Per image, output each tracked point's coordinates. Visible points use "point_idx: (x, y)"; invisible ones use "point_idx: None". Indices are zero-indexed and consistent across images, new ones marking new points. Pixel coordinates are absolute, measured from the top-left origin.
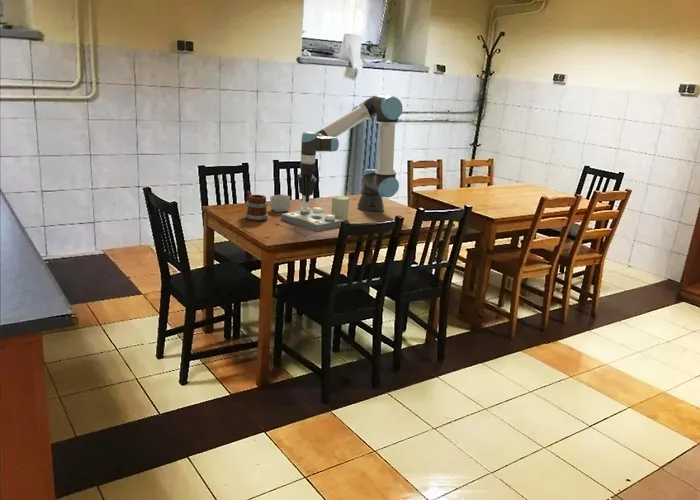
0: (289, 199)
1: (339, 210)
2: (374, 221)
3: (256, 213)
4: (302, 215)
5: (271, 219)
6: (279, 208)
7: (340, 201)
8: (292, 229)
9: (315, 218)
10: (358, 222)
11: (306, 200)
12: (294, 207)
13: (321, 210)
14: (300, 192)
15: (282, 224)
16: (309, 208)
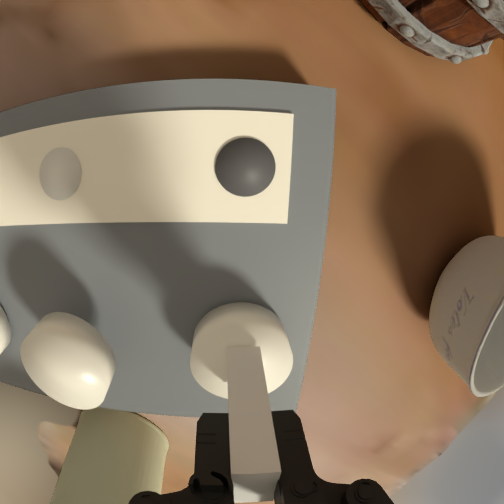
0: (464, 370)
1: (70, 454)
2: (55, 463)
3: None
4: (153, 234)
5: (362, 44)
6: (465, 254)
7: (54, 498)
8: (53, 7)
9: (29, 261)
10: (46, 431)
11: (211, 429)
12: (430, 391)
13: (30, 365)
14: (356, 491)
15: (187, 3)
16: (207, 385)
